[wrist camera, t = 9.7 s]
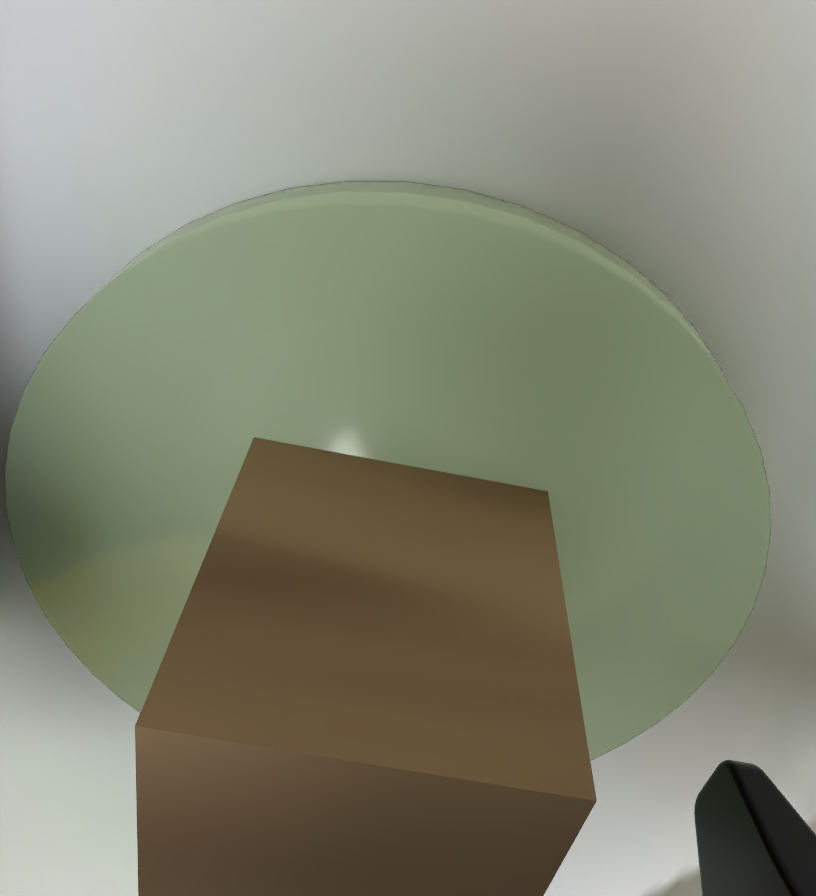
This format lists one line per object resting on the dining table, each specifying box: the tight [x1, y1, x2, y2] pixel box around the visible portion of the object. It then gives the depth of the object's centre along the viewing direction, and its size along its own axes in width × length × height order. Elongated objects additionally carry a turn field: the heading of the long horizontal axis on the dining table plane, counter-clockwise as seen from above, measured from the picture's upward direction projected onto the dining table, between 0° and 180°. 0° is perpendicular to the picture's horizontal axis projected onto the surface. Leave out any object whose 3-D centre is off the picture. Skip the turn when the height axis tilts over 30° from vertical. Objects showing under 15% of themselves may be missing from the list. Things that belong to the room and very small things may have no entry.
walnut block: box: [135, 437, 596, 896], centre depth 10 cm, size 4×4×4 cm
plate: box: [5, 181, 771, 760], centre depth 12 cm, size 11×11×1 cm
